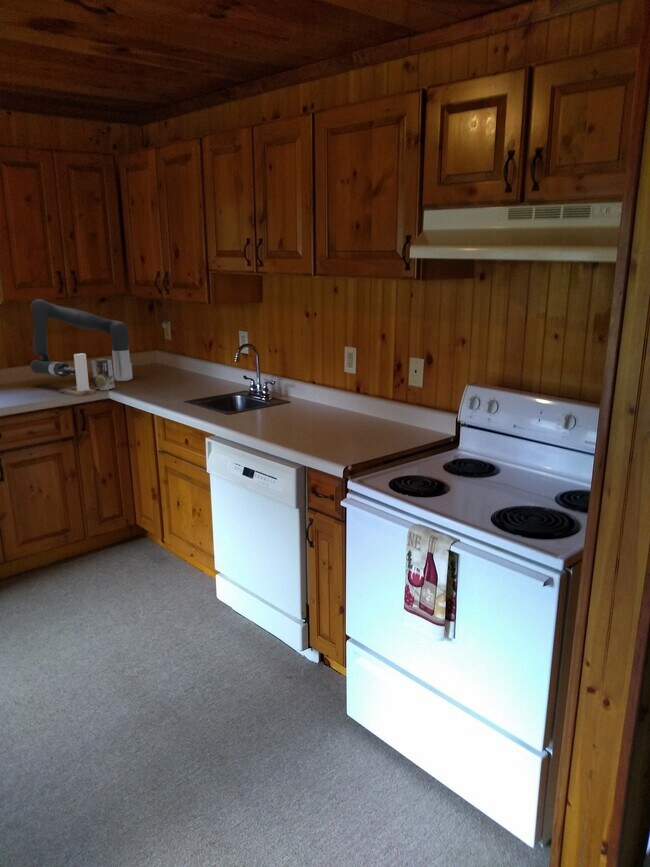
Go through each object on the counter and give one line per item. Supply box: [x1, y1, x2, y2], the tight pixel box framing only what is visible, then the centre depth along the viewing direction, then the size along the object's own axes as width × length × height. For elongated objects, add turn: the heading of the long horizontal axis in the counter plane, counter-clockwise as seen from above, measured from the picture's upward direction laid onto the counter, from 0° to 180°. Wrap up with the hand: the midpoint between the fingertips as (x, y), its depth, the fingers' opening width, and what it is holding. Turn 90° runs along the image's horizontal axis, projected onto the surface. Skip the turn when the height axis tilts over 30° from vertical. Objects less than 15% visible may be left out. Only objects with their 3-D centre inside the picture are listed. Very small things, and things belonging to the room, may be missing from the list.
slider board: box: [58, 385, 97, 397], centre depth 347 cm, size 10×17×2 cm, turn 56°
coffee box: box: [91, 358, 116, 391], centre depth 354 cm, size 9×6×16 cm
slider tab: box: [73, 352, 91, 392], centre depth 341 cm, size 5×4×19 cm
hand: (79, 372), depth 342 cm, fingers closed
